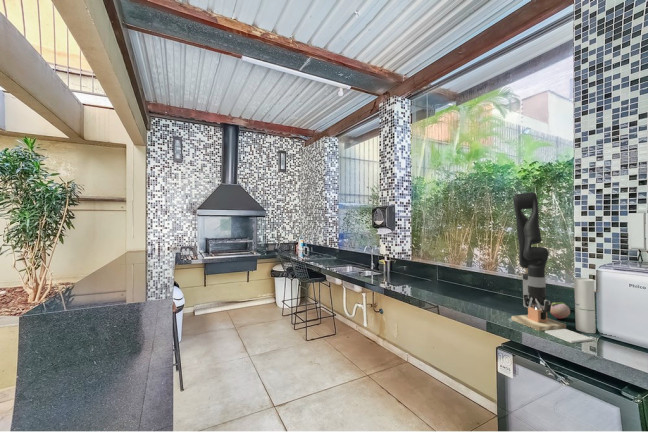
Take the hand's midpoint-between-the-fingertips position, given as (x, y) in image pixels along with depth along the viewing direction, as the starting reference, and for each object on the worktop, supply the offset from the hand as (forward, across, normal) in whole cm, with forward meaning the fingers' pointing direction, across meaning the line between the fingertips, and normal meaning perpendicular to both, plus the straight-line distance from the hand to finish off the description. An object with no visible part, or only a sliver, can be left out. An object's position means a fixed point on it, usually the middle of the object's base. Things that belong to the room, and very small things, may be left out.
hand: (537, 317), depth 146 cm
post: (+1, 0, 0) cm, 1 cm away
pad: (+3, -16, +1) cm, 16 cm away
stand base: (+3, 0, 0) cm, 3 cm away
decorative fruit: (+4, +3, -18) cm, 19 cm away
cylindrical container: (+4, -12, -14) cm, 19 cm away
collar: (+1, 0, 0) cm, 1 cm away
